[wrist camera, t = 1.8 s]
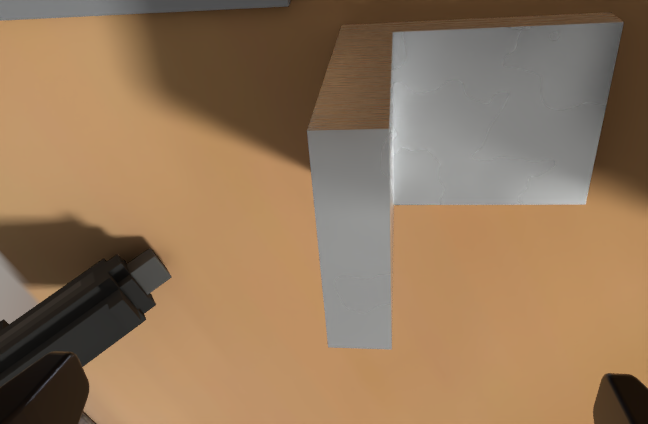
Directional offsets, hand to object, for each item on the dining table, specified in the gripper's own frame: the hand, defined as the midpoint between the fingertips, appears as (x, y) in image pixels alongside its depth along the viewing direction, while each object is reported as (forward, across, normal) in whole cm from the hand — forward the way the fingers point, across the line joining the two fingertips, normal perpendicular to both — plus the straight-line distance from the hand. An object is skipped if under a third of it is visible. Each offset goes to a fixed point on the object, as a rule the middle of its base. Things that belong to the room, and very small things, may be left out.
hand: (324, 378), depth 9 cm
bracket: (+12, -3, 0) cm, 12 cm away
